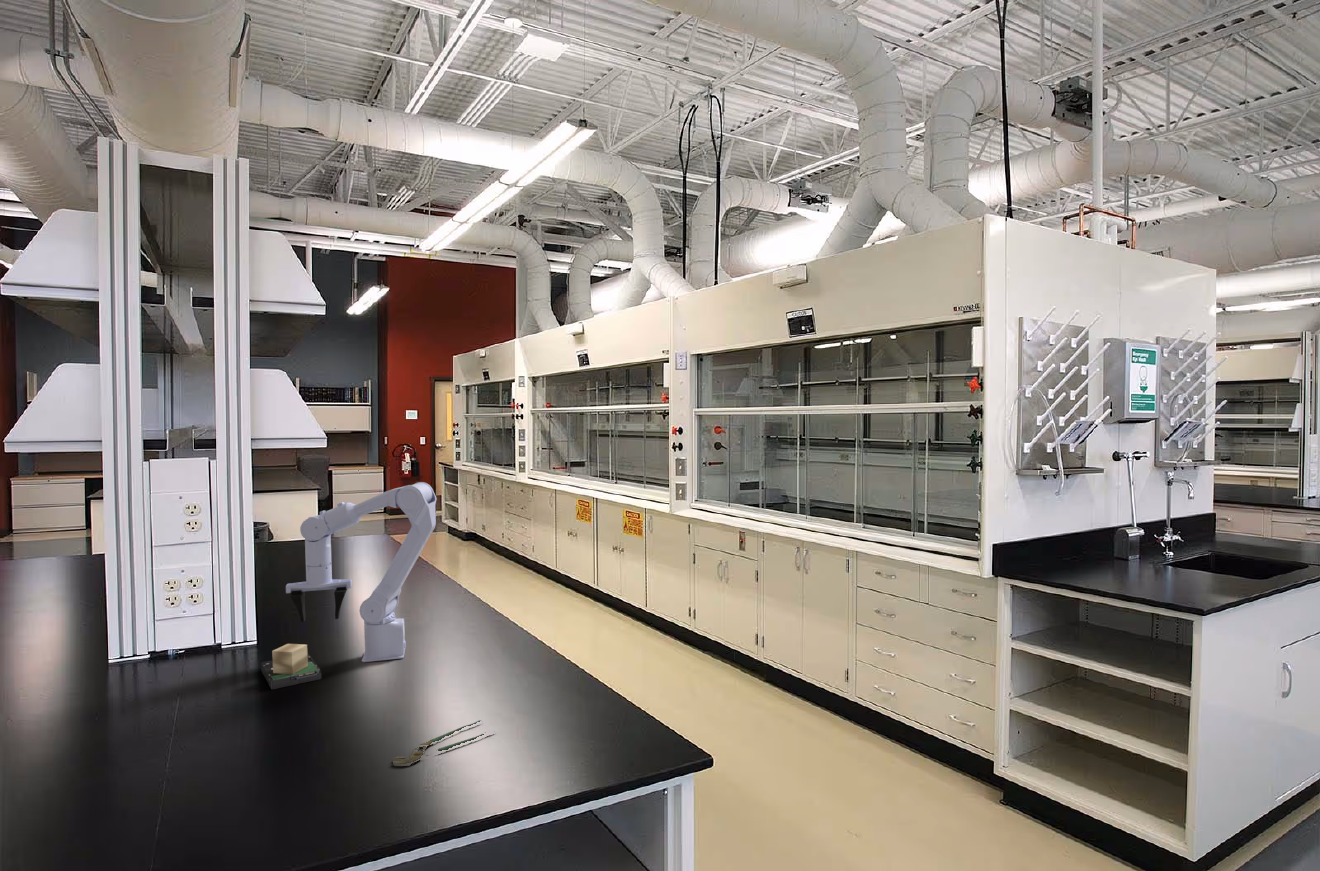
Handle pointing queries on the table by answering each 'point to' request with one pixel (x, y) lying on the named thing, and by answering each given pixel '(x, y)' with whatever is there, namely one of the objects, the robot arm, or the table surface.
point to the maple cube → (290, 658)
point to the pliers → (418, 755)
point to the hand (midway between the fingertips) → (320, 619)
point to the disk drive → (290, 675)
